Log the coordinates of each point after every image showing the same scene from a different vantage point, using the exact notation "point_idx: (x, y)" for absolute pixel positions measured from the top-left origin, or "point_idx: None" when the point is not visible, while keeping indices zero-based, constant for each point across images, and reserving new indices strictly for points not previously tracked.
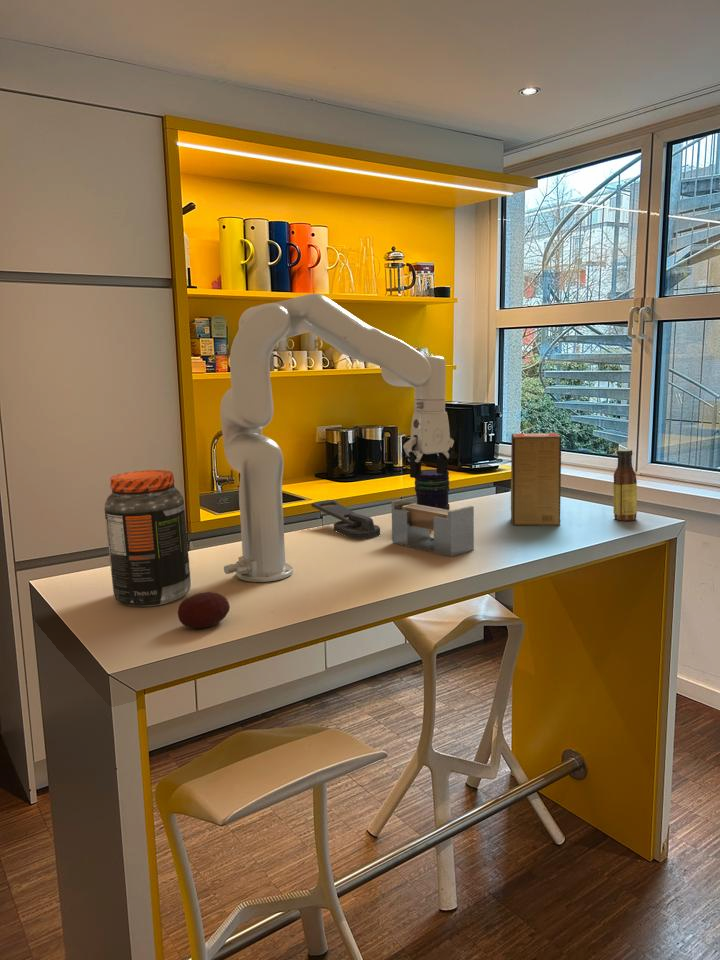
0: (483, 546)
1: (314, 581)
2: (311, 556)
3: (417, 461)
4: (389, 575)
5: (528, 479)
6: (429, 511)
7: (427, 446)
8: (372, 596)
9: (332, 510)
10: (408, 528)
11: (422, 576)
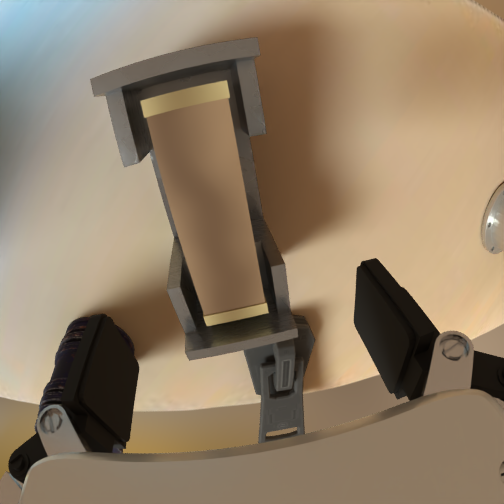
0: (91, 104)
1: (497, 141)
2: (430, 260)
3: (443, 343)
4: (426, 64)
5: None
6: (242, 194)
7: (481, 463)
8: (482, 24)
9: (295, 413)
10: (266, 236)
11: (386, 9)
